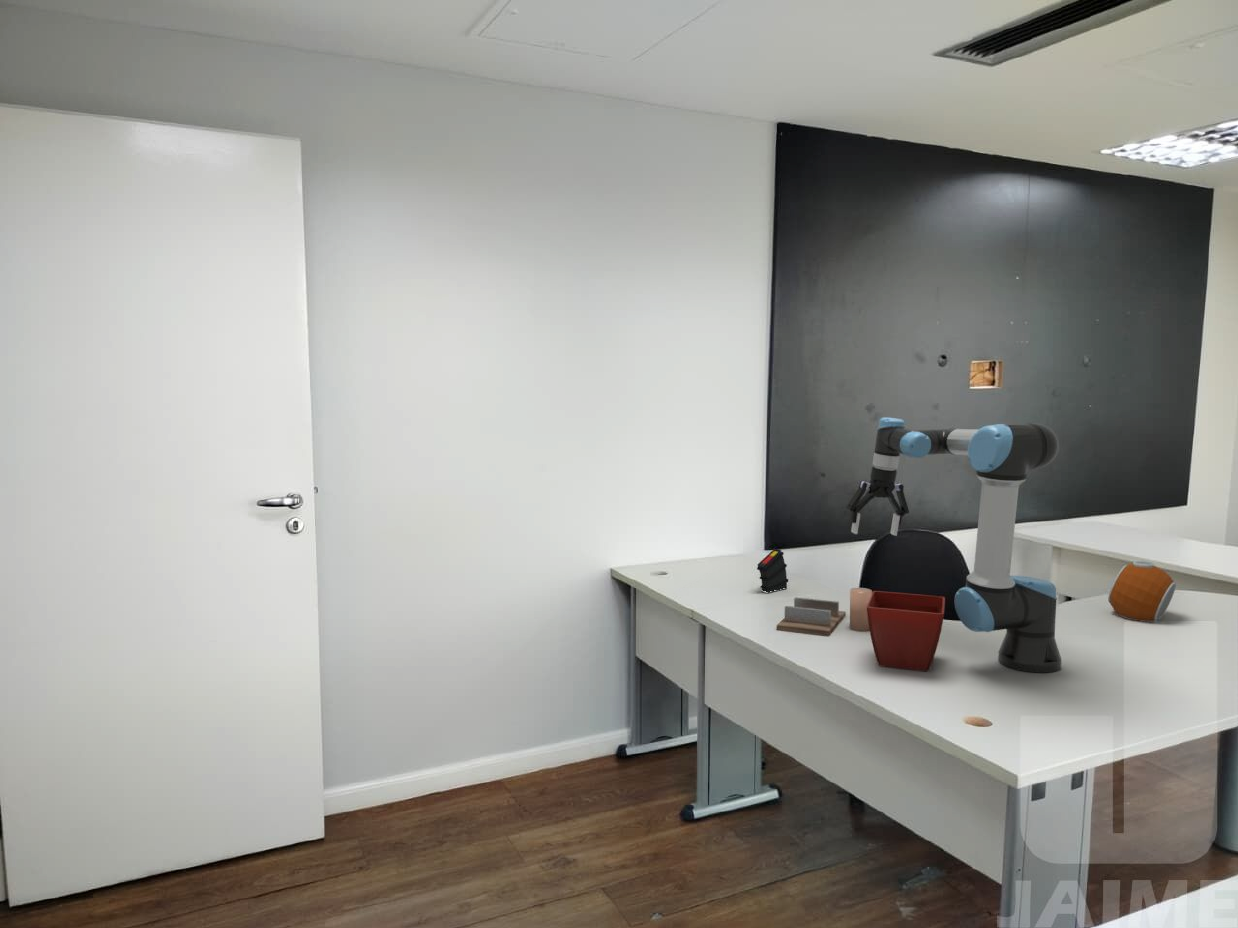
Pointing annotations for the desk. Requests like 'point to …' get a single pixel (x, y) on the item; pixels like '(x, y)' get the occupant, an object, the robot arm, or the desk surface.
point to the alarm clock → (1141, 592)
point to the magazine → (773, 571)
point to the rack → (812, 617)
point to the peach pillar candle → (859, 609)
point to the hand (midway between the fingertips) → (873, 533)
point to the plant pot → (905, 628)
